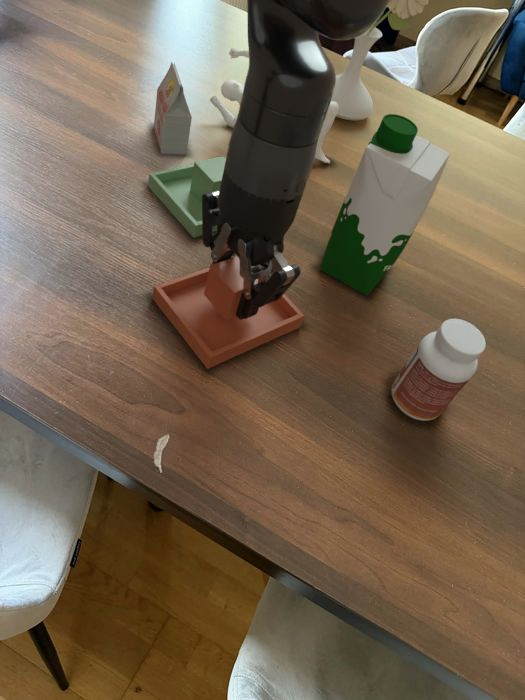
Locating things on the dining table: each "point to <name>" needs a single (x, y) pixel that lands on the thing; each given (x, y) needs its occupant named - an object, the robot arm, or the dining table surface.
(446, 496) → the dining table surface
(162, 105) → the small milk carton
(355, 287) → the soya milk
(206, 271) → the terracotta tray
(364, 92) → the flower in vase
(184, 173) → the sage tray
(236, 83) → the person figurine
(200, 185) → the sage block
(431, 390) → the pill bottle
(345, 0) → the robot arm
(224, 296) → the terracotta block
